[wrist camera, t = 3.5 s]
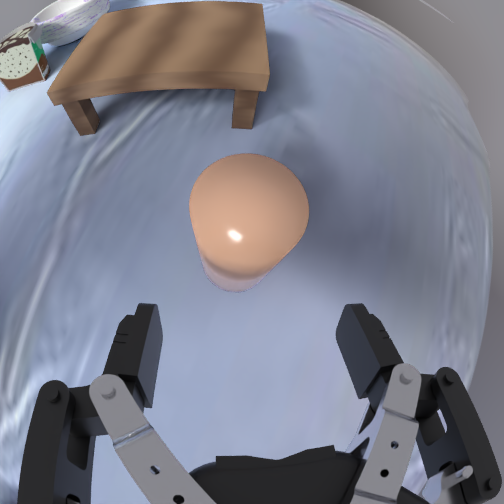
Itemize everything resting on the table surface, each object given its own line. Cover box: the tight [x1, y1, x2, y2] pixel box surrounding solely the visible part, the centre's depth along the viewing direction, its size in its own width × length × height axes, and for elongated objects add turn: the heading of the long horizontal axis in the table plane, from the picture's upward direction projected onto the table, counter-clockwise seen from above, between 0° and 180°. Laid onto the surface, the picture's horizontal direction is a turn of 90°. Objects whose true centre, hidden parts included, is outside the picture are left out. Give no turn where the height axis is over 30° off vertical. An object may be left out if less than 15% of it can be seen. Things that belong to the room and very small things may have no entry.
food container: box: [0, 22, 50, 92], centre depth 21 cm, size 12×6×10 cm, turn 86°
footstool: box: [47, 1, 270, 136], centre depth 23 cm, size 20×16×8 cm
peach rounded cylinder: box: [189, 154, 309, 292], centre depth 18 cm, size 5×5×11 cm
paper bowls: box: [31, 0, 110, 46], centre depth 26 cm, size 15×15×8 cm
